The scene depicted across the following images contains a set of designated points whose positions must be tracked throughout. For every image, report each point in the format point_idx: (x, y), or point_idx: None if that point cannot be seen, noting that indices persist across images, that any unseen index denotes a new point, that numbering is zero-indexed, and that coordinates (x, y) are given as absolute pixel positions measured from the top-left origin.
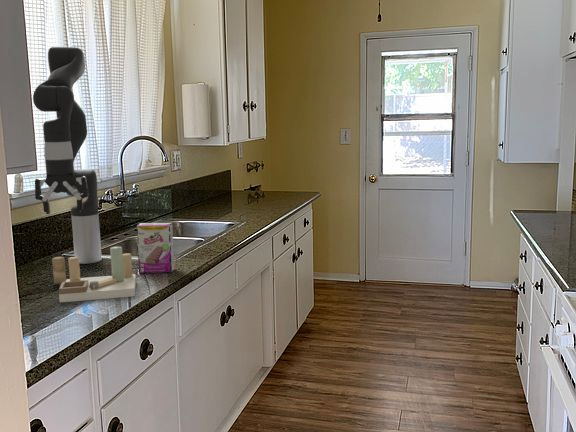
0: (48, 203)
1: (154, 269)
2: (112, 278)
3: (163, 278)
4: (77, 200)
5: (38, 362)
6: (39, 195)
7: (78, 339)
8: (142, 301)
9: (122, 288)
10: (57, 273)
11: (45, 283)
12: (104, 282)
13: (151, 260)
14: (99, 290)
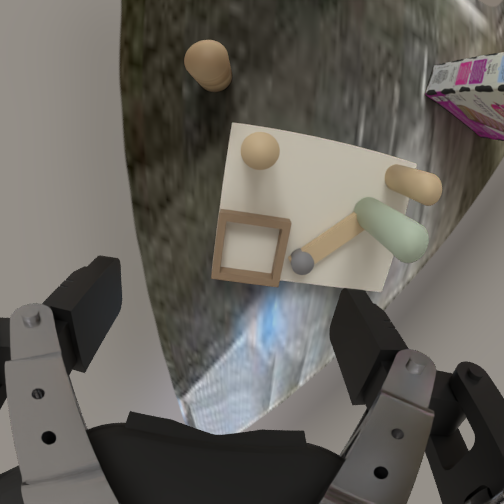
0: (88, 339)
1: (459, 116)
2: (355, 225)
3: (459, 171)
4: (358, 403)
5: None
6: (3, 400)
7: (246, 427)
8: None
9: (359, 283)
10: (205, 86)
11: (175, 68)
12: (329, 253)
13: (470, 114)
14: (308, 278)
